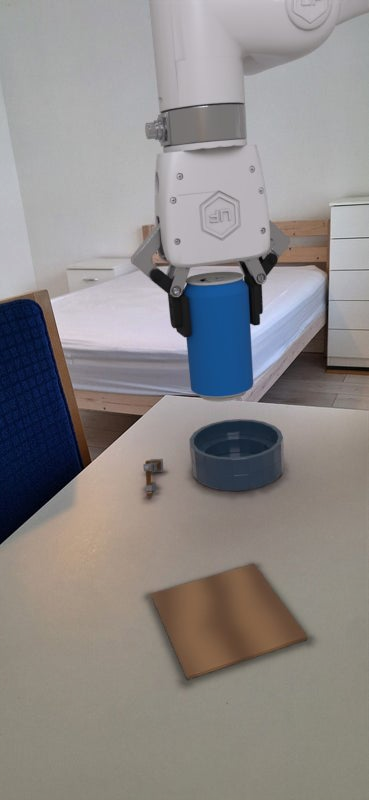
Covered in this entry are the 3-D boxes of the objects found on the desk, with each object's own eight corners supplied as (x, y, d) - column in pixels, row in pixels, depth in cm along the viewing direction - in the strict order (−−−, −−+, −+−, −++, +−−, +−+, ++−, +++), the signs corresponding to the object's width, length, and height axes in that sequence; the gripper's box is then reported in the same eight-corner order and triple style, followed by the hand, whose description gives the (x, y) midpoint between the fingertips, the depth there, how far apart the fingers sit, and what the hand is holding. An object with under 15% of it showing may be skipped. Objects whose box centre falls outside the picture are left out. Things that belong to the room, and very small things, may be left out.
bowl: (259, 444, 88) (258, 412, 86) (300, 480, 77) (299, 445, 75) (181, 462, 84) (177, 430, 82) (211, 503, 73) (208, 467, 72)
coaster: (254, 566, 61) (254, 563, 61) (307, 639, 52) (307, 636, 51) (151, 597, 58) (151, 593, 58) (187, 680, 49) (186, 676, 48)
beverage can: (237, 377, 66) (231, 268, 62) (264, 395, 60) (259, 276, 56) (182, 389, 64) (172, 277, 60) (205, 409, 58) (195, 287, 54)
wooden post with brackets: (140, 497, 74) (139, 461, 75) (151, 490, 82) (149, 457, 83) (155, 497, 74) (153, 460, 74) (164, 490, 82) (162, 457, 82)
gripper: (116, 137, 48) (142, 352, 54) (312, 121, 52) (314, 322, 58) (100, 143, 54) (125, 333, 61) (274, 128, 58) (280, 308, 65)
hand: (217, 326), depth 59 cm, fingers closed on beverage can, 6 cm apart
